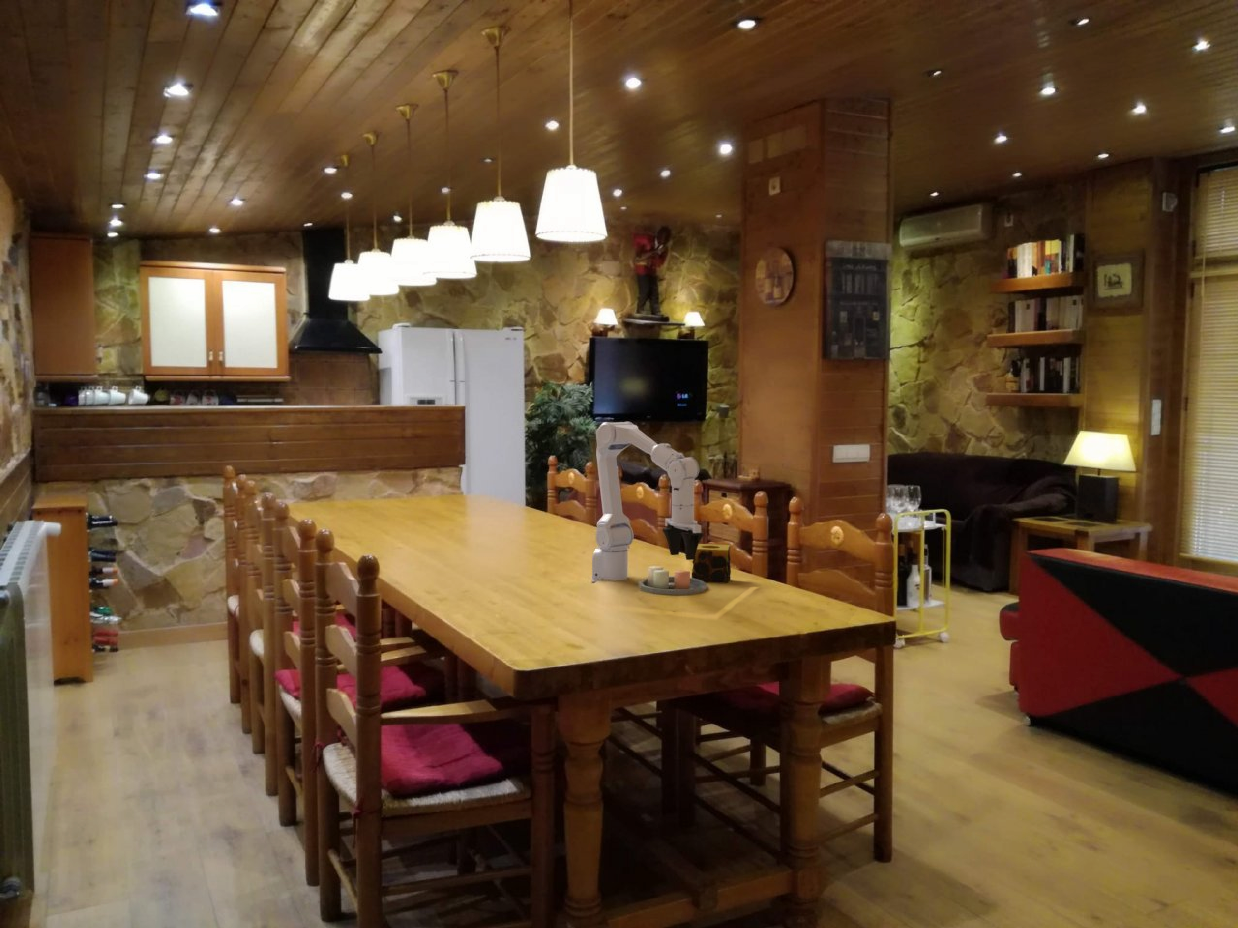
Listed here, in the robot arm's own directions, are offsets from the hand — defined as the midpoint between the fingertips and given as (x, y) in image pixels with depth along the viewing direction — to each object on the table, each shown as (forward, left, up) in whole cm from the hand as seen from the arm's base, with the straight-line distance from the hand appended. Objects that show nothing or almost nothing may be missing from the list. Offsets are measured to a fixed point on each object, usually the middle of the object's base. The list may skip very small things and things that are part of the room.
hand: (682, 557), depth 245 cm
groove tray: (-4, +3, -10) cm, 11 cm away
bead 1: (-8, +3, -9) cm, 13 cm away
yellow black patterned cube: (+2, +19, -10) cm, 22 cm away
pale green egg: (-5, -1, -9) cm, 10 cm away
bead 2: (0, 0, -9) cm, 9 cm away
